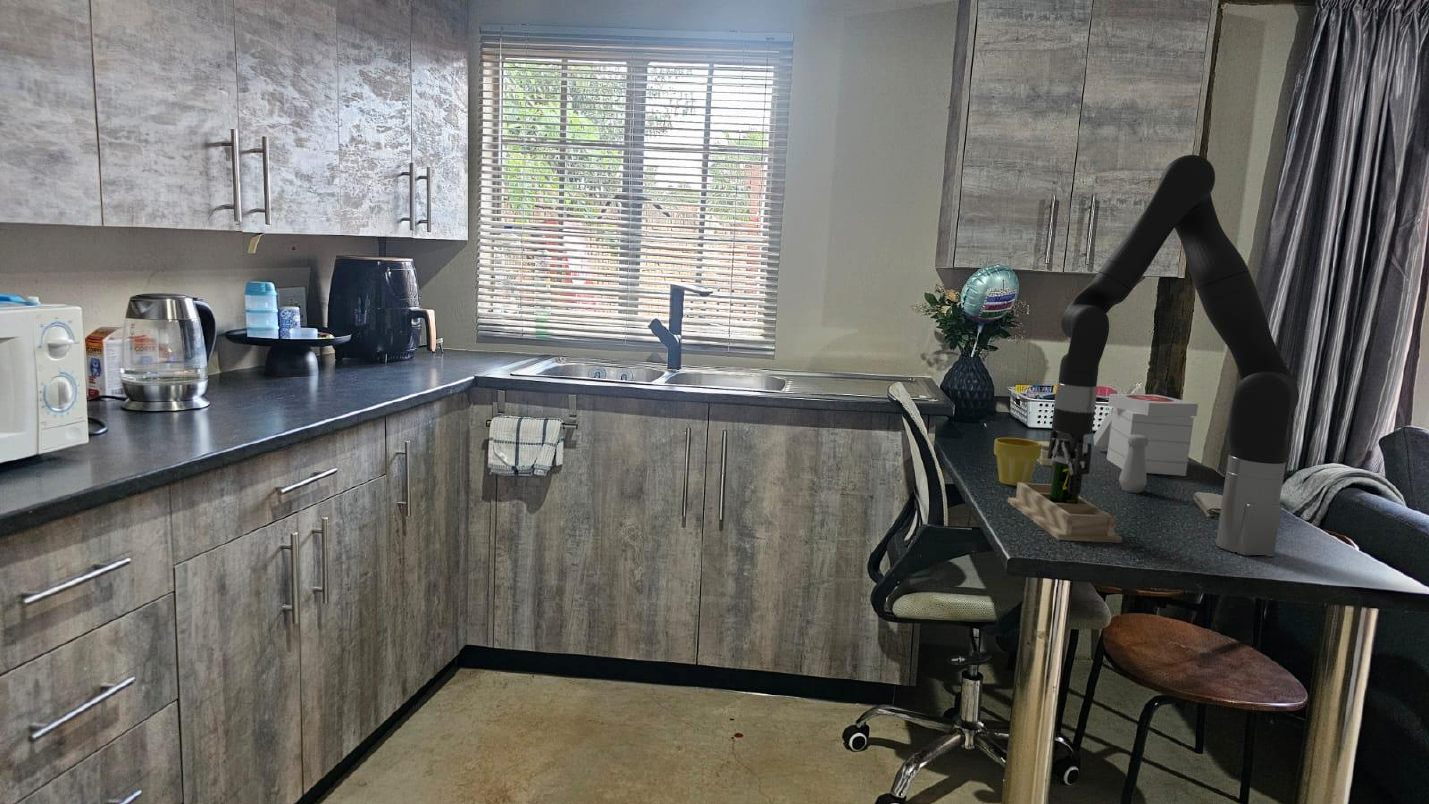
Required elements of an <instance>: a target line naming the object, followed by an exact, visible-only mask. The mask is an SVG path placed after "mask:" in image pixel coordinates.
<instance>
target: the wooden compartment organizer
mask: <svg viewBox="0 0 1429 804" xmlns="http://www.w3.org/2000/svg"><path fill="white" fill-rule="evenodd" d="M1050 490H1051V483H1049V484H1048V483H1034V482H1032V483H1031V482H1030V483H1022V482H1018V483H1017V486H1016V492H1015V497H1007V503H1008V504H1009V503H1010V506H1012V507H1013V508H1014V509H1016V510H1018V511H1019V512H1020V511H1021V512H1020V513H1022V514H1023V515H1024V516H1026V517H1027V518H1029V520H1031V521H1032V520H1033V521H1032V522H1034V523H1035V524H1036V525H1038V526H1039V527H1040V528H1042V529H1043V530H1044V531H1046V532H1047V533H1048V534H1049V535H1051V536H1052V537H1053V538H1055V539H1056V540H1058V541H1076V542H1077V541H1078V542H1094V543H1095V542H1099V543H1100V542H1101V543H1116V544H1118V543H1119V544H1120V543H1122V542H1123V536H1121V535H1119V534H1118V533H1116V532H1115V526H1116V519H1117V518H1116V517H1115V516H1113V515H1111V514H1110V513H1108V512H1106V511H1104V510H1103V509H1101V508H1100V507H1098V506H1097V505H1095V504H1093V503H1091V502H1089V501H1088V500H1086V499H1085V498H1083V497H1081V496H1080V495H1079V500H1078V504H1070V503H1053V502H1051V501H1050V500H1049V498H1050Z"/></svg>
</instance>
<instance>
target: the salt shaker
mask: <svg viewBox="0 0 1429 804" xmlns="http://www.w3.org/2000/svg"><path fill="white" fill-rule="evenodd" d="M1128 444H1129V445H1130V448H1129V451H1128V454H1127V457H1126V460H1125V463H1124V466H1123V469H1121V472H1120V474H1119V478H1118V481H1119V484H1120V487H1121V490H1122V491H1124V492H1127V493H1132V494H1133V493H1134V494H1139V493H1142V492H1143V491H1144V488H1145V487H1146V485H1147V481H1148V479H1147V473H1146V462H1145V447H1146V446H1147V445H1148V438H1147V437H1146V436H1143V435H1136V434H1134V435H1130V436H1129V437H1128Z"/></svg>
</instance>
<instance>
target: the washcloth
mask: <svg viewBox="0 0 1429 804" xmlns="http://www.w3.org/2000/svg"><path fill="white" fill-rule="evenodd" d="M1193 494H1194V495H1193V497H1192V499H1193V501H1194V502H1195V503H1196V504H1197V506H1198V507H1199V508H1200V509H1201V511H1202V512H1203V513H1204V514H1205V515H1206V517H1207V518H1210V519H1211V518H1213V519H1218V520H1219V517H1220V511H1221V504H1222V497H1223V494H1222V495H1221V494H1217V493H1212V492H1211V493H1210V492H1201V491H1197V492H1195V493H1193Z"/></svg>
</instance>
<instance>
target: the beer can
mask: <svg viewBox="0 0 1429 804" xmlns="http://www.w3.org/2000/svg"><path fill="white" fill-rule="evenodd" d="M1074 467H1075V465H1074ZM1069 476H1070V470H1069V465H1067V464H1066V461H1065V457H1064V456H1062V455H1060V454H1057V455H1056V458H1055V459H1054V465H1053V473H1052V482H1051V481H1050V484H1051V490H1050V498H1049V500H1050V501H1051V502H1053V503H1070V504H1078V500H1079V496H1080V494H1070V493H1068V484H1069Z"/></svg>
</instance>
